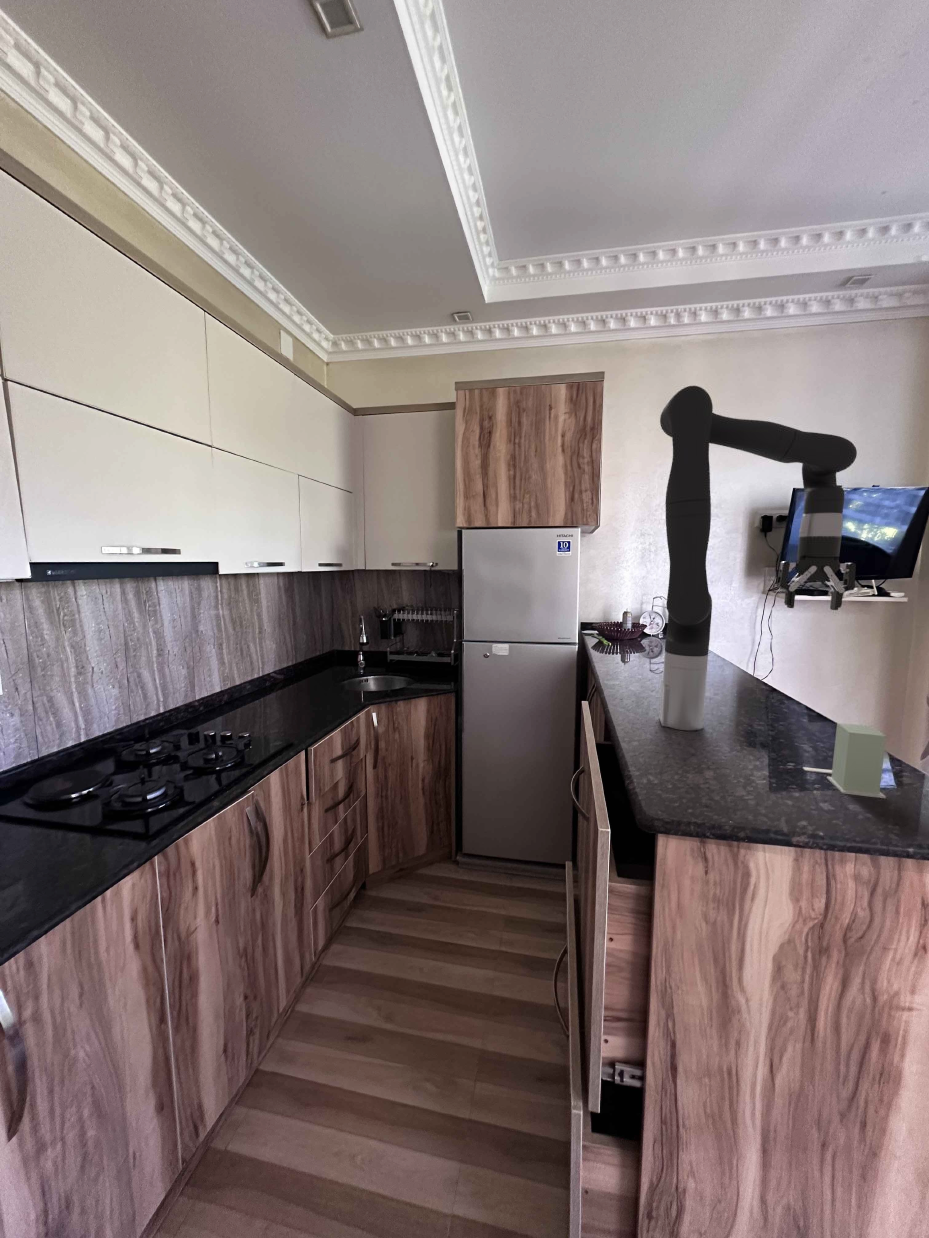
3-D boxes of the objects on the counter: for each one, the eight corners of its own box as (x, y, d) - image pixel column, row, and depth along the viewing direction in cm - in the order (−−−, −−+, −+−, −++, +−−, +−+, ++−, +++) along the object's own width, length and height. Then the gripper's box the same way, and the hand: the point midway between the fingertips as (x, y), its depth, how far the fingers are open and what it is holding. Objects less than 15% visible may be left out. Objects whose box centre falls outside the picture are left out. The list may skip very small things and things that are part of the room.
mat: (842, 793, 81) (842, 791, 81) (826, 777, 87) (826, 776, 87) (885, 798, 80) (885, 796, 80) (866, 782, 85) (866, 780, 85)
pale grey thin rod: (805, 770, 90) (805, 769, 90) (802, 768, 91) (802, 767, 91) (882, 779, 87) (882, 778, 87) (879, 776, 88) (879, 775, 88)
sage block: (843, 789, 82) (849, 732, 81) (831, 777, 87) (837, 722, 85) (879, 794, 80) (886, 736, 79) (865, 781, 85) (871, 726, 84)
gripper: (789, 534, 105) (781, 609, 107) (867, 534, 102) (857, 612, 104) (777, 536, 113) (770, 606, 115) (849, 536, 109) (841, 608, 111)
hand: (812, 608), depth 109 cm, fingers open, 8 cm apart
